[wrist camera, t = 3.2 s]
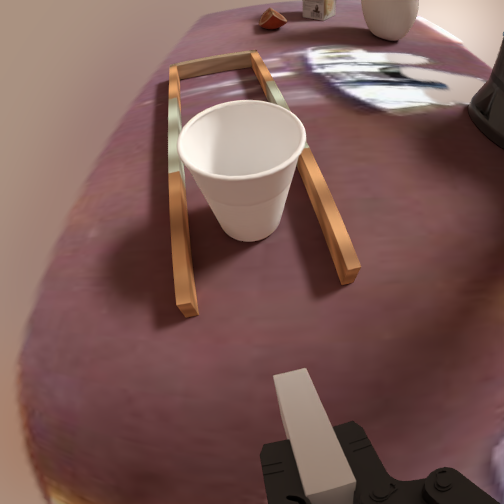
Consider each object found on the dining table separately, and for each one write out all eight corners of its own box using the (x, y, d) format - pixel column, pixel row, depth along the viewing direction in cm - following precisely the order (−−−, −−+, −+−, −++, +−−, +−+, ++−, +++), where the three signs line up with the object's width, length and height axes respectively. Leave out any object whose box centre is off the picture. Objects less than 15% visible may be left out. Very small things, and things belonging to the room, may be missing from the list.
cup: (186, 246, 31) (152, 167, 22) (223, 175, 36) (207, 95, 26) (284, 272, 29) (288, 192, 20) (308, 193, 34) (316, 108, 24)
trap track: (353, 282, 28) (361, 266, 25) (185, 317, 27) (176, 305, 25) (257, 63, 50) (256, 49, 48) (173, 78, 50) (169, 65, 47)
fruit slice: (258, 23, 64) (257, 7, 59) (285, 23, 63) (284, 6, 59) (260, 33, 59) (258, 15, 55) (289, 33, 59) (289, 14, 55)
